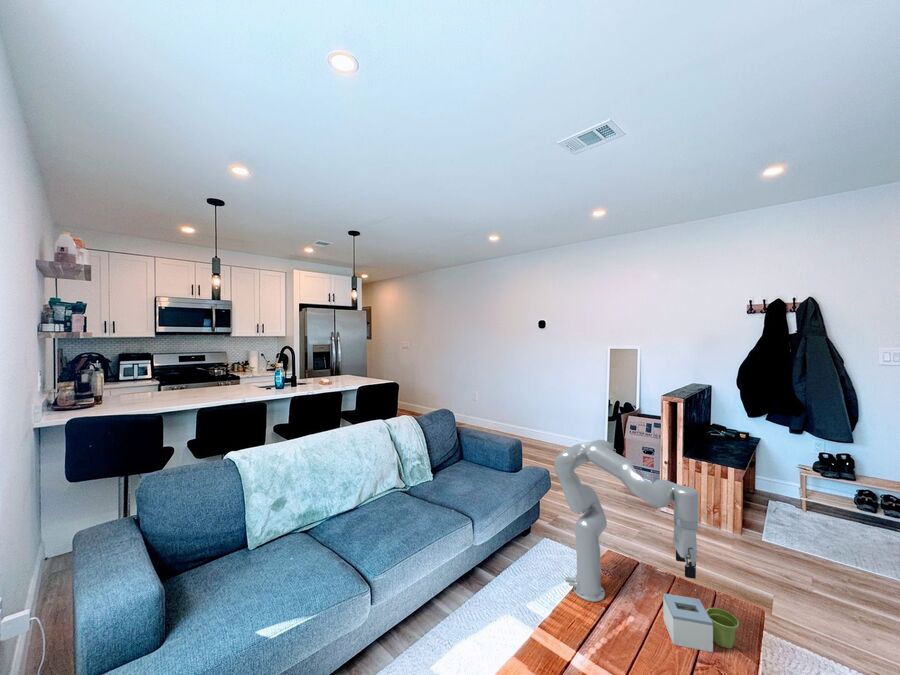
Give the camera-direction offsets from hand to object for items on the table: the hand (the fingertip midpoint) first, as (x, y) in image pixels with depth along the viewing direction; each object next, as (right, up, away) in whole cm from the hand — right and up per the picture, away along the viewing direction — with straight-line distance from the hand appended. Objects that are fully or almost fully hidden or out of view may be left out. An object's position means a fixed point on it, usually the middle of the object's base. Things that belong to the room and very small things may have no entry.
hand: (685, 569), depth 133 cm
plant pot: (+11, -24, -3) cm, 26 cm away
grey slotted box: (0, -24, 0) cm, 24 cm away
